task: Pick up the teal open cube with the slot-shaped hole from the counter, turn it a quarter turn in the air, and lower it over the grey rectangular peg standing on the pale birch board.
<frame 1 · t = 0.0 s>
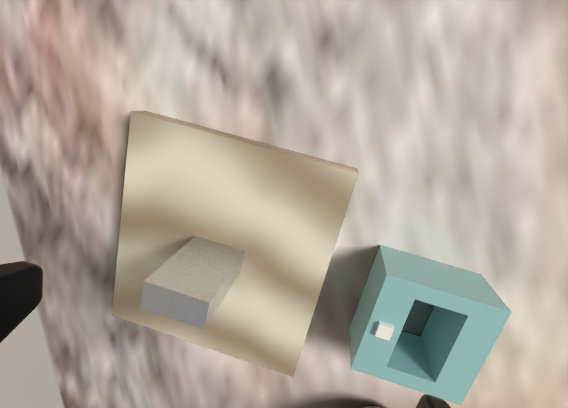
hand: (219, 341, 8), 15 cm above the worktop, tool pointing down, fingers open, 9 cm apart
grey rectangular peg: (199, 276, 19), on the board, point 4 cm above the worktop
board: (225, 245, 23), on the worktop
teal open cube: (411, 302, 22), on the worktop
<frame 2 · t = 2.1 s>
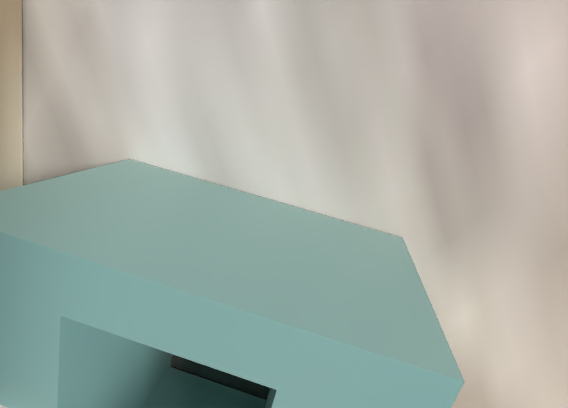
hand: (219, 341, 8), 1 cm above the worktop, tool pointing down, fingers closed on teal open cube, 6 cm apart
teal open cube: (233, 314, 9), on the worktop, touching gripper
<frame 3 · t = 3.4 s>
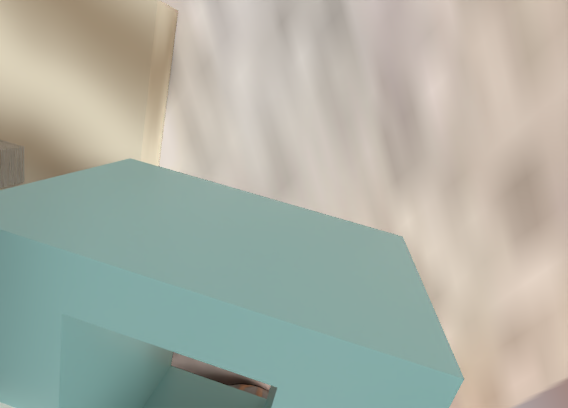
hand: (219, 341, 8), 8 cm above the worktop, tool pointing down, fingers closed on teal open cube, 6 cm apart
board: (21, 150, 16), on the worktop
teal open cube: (234, 313, 9), point 7 cm above the worktop, touching gripper
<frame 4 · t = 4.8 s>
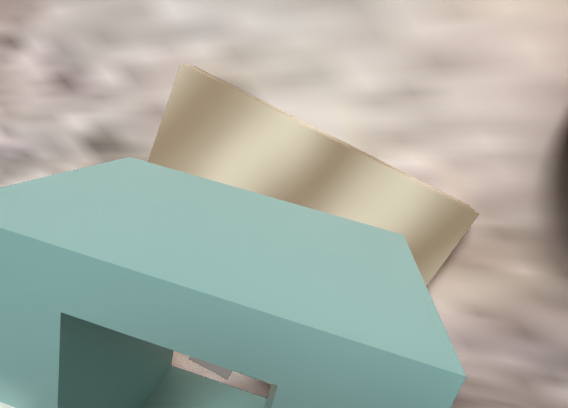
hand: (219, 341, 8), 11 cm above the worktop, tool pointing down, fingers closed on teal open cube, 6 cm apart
grey rectangular peg: (248, 291, 15), on the board, point 4 cm above the worktop
board: (270, 249, 19), on the worktop
teal open cube: (234, 312, 9), point 10 cm above the worktop, touching gripper
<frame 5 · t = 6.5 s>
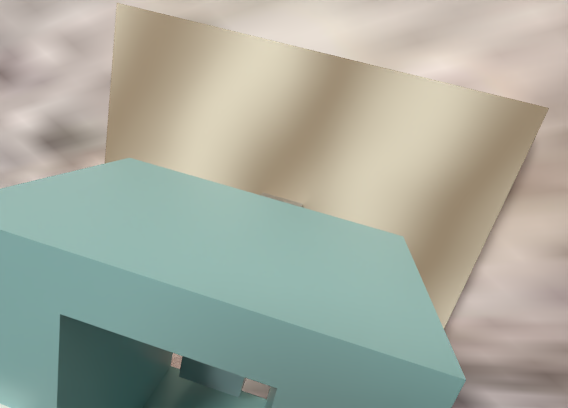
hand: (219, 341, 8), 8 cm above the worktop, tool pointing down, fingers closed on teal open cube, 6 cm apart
grey rectangular peg: (253, 272, 11), on the board, point 4 cm above the worktop
board: (279, 224, 15), on the worktop
teal open cube: (233, 313, 9), point 7 cm above the worktop, touching gripper
when the fingers open (3 cm above the worktop, at t = 7.9 s): teal open cube stays where it is, resting on board.
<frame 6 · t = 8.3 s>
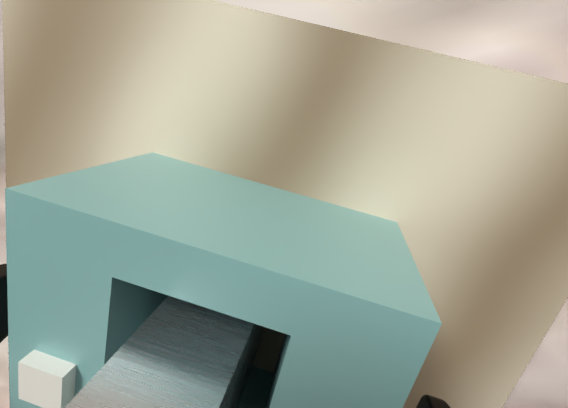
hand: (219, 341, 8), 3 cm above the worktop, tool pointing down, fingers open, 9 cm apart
grey rectangular peg: (199, 376, 7), on the board, point 4 cm above the worktop
board: (256, 270, 11), on the worktop
teal open cube: (244, 293, 9), point 1 cm above the worktop, touching board
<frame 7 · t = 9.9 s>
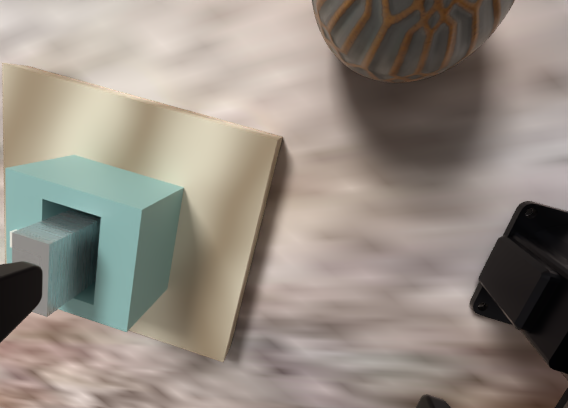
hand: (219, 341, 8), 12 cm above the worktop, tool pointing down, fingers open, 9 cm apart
grey rectangular peg: (83, 246, 16), on the board, point 4 cm above the worktop
board: (137, 216, 21), on the worktop
teal open cube: (122, 224, 19), point 1 cm above the worktop, touching board
vase: (392, 8, 16), on the worktop
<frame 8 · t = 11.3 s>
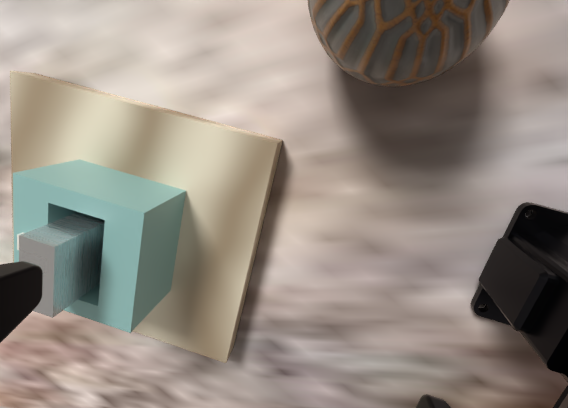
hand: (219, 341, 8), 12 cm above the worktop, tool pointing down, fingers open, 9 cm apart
grey rectangular peg: (88, 248, 17), on the board, point 4 cm above the worktop
board: (140, 219, 21), on the worktop
teal open cube: (126, 227, 20), point 1 cm above the worktop, touching board
vase: (390, 12, 16), on the worktop
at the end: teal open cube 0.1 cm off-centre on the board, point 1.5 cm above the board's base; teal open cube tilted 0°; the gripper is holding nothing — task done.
